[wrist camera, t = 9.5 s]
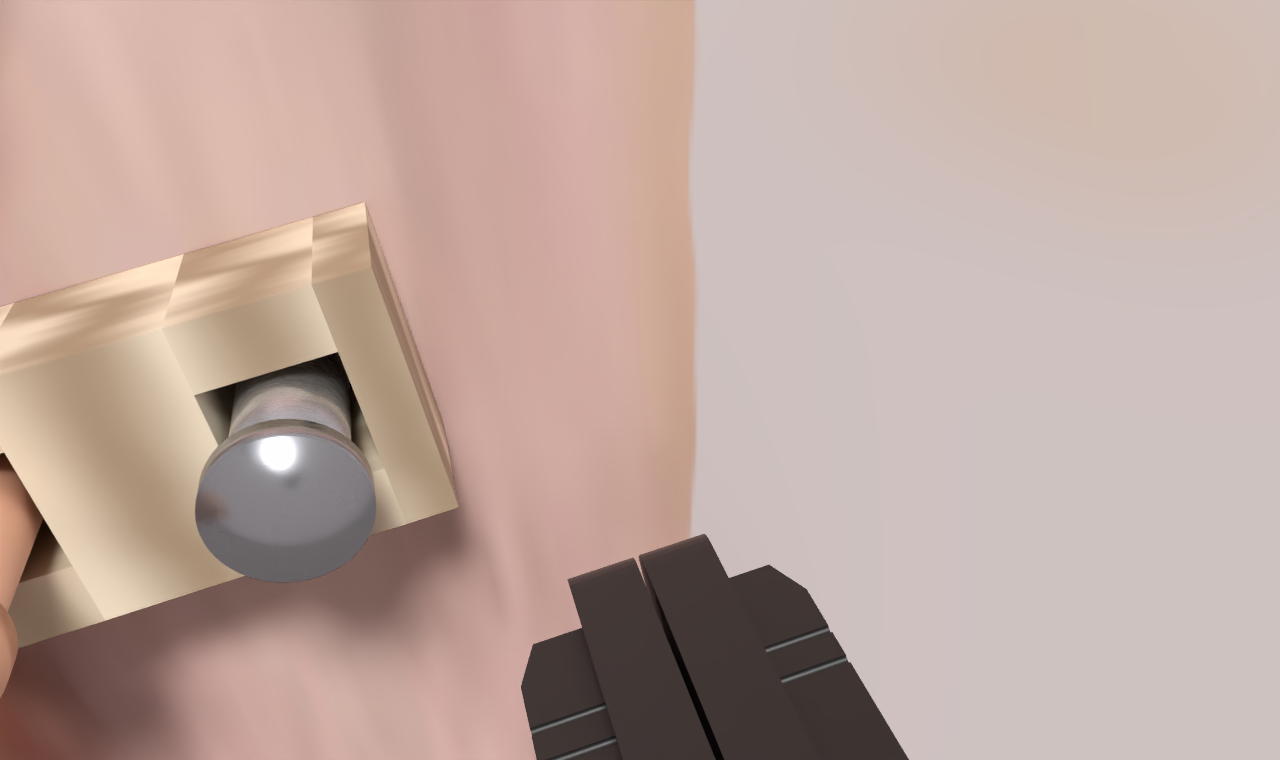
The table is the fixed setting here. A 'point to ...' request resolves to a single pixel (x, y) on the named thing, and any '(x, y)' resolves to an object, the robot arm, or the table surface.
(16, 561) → the terracotta plunger
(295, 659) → the table surface
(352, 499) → the steel plunger
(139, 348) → the beige rectangular block
